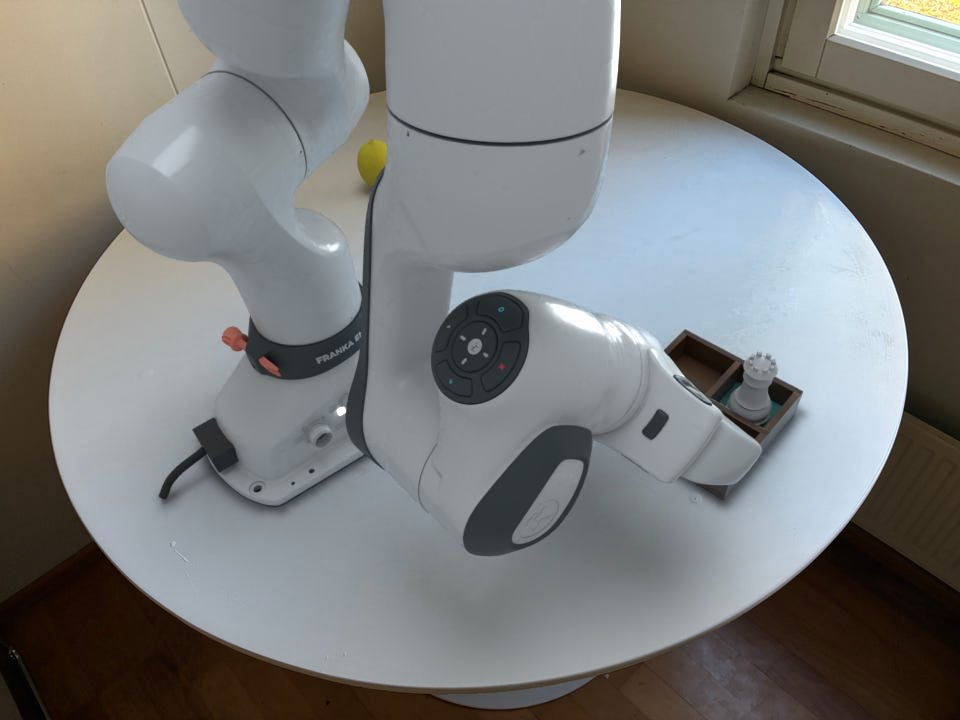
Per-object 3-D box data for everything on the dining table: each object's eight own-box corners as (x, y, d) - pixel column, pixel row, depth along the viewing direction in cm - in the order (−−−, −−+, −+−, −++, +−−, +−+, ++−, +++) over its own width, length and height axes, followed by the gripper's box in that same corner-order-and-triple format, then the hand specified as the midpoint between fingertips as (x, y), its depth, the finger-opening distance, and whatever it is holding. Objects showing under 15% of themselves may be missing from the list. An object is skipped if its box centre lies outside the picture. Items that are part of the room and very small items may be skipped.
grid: (723, 500, 75) (729, 480, 72) (606, 426, 82) (608, 405, 79) (795, 412, 81) (803, 391, 78) (681, 350, 88) (685, 328, 85)
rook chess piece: (770, 431, 79) (788, 381, 73) (725, 426, 79) (739, 376, 73) (769, 397, 81) (785, 346, 75) (725, 393, 82) (738, 342, 76)
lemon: (407, 182, 114) (399, 135, 108) (385, 202, 111) (375, 155, 105) (378, 172, 116) (368, 125, 110) (355, 192, 113) (344, 145, 107)
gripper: (501, 334, 64) (586, 357, 75) (680, 500, 53) (750, 498, 63) (542, 271, 63) (623, 303, 73) (736, 428, 51) (799, 439, 62)
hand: (683, 395), depth 68 cm, fingers open, 8 cm apart
